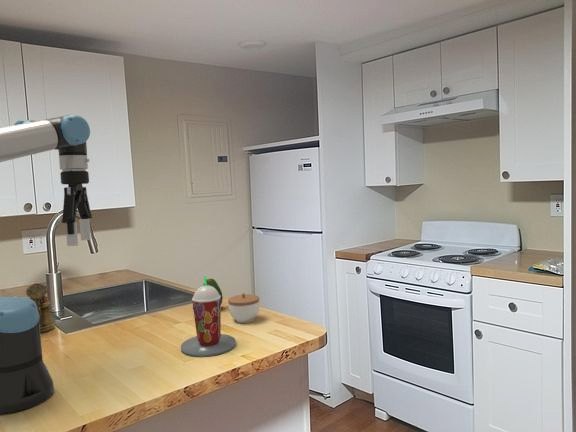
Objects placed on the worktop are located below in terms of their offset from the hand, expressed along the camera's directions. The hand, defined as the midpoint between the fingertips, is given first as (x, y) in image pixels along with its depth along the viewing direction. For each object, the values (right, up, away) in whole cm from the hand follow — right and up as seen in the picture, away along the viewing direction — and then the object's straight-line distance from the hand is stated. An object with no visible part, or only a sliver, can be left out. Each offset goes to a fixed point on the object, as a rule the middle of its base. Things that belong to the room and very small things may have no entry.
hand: (79, 242), depth 138 cm
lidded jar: (+47, -28, +24) cm, 59 cm away
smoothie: (+38, -30, 0) cm, 49 cm away
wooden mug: (-23, -32, +22) cm, 45 cm away
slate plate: (+38, -31, 0) cm, 49 cm away
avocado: (+33, -28, +38) cm, 58 cm away
